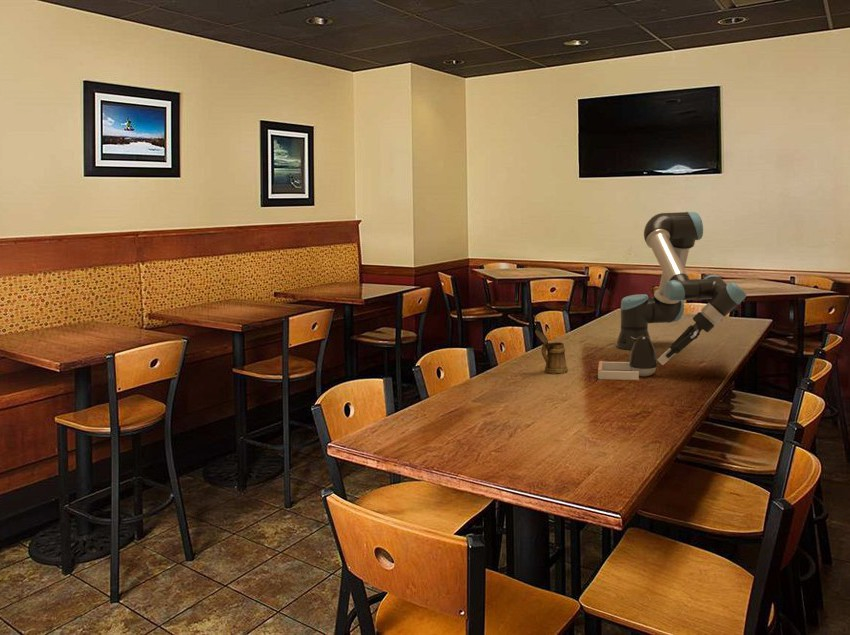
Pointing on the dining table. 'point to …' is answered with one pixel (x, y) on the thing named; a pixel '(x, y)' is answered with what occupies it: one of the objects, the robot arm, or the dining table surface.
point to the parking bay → (616, 374)
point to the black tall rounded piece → (643, 356)
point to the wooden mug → (553, 355)
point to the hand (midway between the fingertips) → (660, 362)
